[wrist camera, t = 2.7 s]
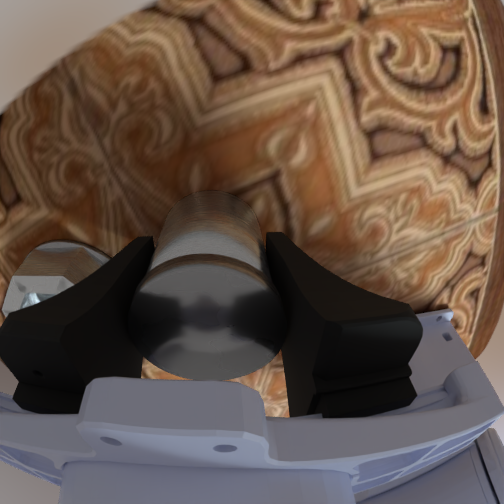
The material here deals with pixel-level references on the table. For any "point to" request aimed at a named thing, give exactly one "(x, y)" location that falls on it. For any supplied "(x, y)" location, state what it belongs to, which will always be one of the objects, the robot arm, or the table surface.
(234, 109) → the table surface
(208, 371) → the grey domed cylinder
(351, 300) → the robot arm
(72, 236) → the table surface
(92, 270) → the grey octagonal tray
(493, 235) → the table surface
